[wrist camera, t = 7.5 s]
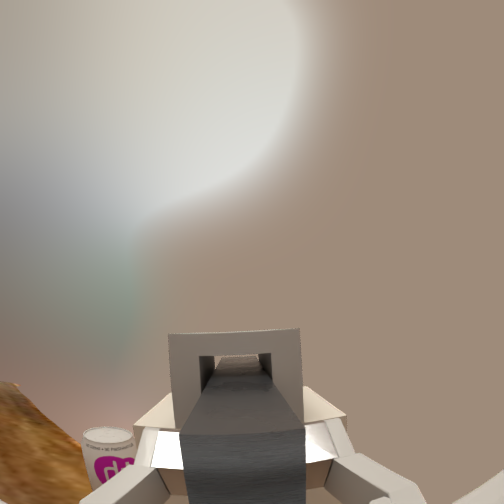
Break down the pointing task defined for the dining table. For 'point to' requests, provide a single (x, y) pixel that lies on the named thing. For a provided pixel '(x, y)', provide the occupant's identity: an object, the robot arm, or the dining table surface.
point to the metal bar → (243, 440)
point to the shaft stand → (203, 366)
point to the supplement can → (107, 453)
